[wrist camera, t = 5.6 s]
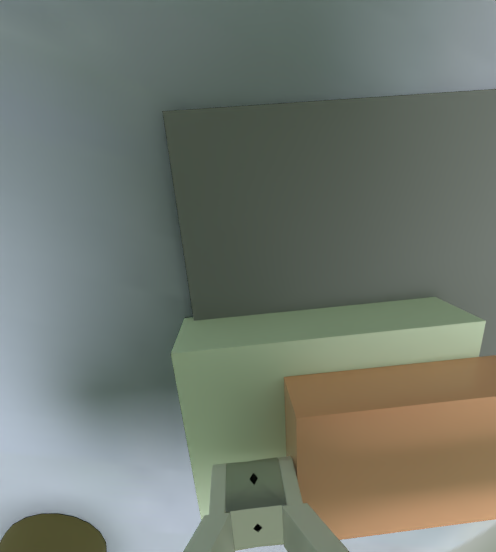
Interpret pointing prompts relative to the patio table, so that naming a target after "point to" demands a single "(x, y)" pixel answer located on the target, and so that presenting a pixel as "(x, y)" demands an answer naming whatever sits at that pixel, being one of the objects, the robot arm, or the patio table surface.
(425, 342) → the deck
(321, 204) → the mat
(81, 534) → the cork
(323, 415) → the block
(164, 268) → the patio table surface
